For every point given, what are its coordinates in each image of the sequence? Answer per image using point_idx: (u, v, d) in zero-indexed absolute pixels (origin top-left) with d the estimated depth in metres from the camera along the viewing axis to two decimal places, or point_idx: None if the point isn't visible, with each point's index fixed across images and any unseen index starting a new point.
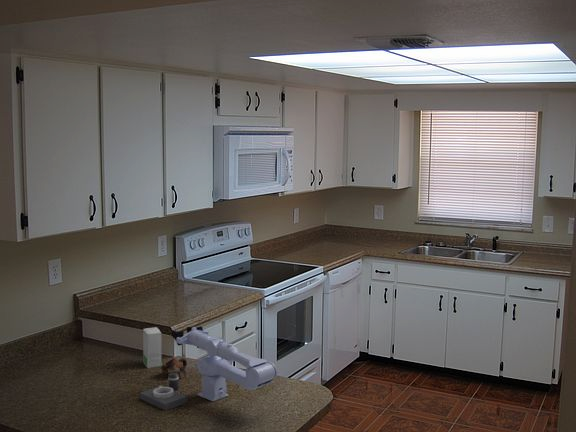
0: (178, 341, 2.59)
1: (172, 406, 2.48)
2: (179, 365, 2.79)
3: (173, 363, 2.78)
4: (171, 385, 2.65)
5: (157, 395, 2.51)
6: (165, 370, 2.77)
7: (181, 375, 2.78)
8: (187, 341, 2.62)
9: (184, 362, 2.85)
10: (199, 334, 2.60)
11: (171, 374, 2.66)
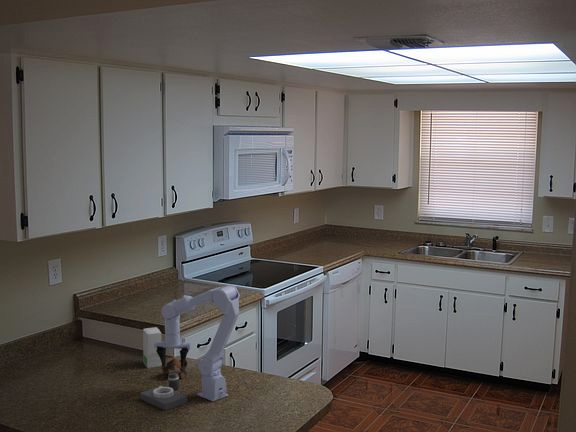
0: None
1: (172, 406, 2.48)
2: (180, 365, 2.78)
3: (174, 363, 2.78)
4: (171, 385, 2.65)
5: (157, 395, 2.51)
6: (166, 370, 2.77)
7: (182, 375, 2.77)
8: (164, 344, 2.64)
9: (185, 362, 2.85)
10: None
11: (171, 374, 2.66)
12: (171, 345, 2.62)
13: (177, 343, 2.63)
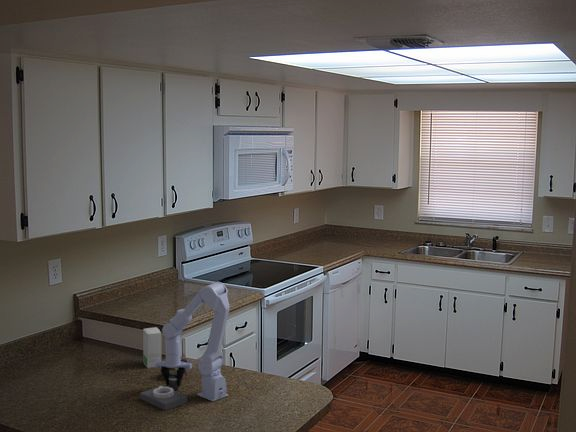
0: None
1: (172, 406, 2.48)
2: None
3: None
4: (171, 385, 2.65)
5: (157, 395, 2.51)
6: None
7: None
8: None
9: None
10: None
11: (171, 374, 2.66)
12: (171, 365, 2.62)
13: (177, 363, 2.64)
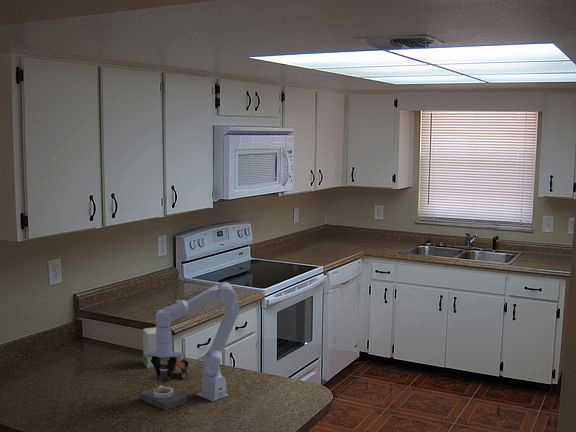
0: None
1: (172, 406, 2.48)
2: (181, 366, 2.77)
3: (175, 364, 2.77)
4: (162, 376, 2.54)
5: (157, 395, 2.51)
6: None
7: (183, 376, 2.77)
8: (155, 354, 2.54)
9: (186, 363, 2.84)
10: None
11: (162, 365, 2.55)
12: (162, 354, 2.52)
13: (168, 352, 2.53)
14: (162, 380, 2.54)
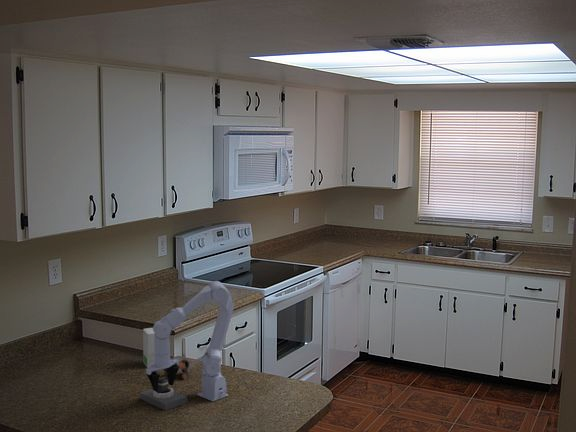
0: (147, 370, 2.47)
1: (172, 406, 2.48)
2: (182, 366, 2.77)
3: None
4: (165, 390, 2.53)
5: (157, 395, 2.51)
6: None
7: (184, 376, 2.76)
8: (158, 367, 2.50)
9: (186, 363, 2.83)
10: None
11: (161, 379, 2.53)
12: (168, 365, 2.51)
13: None
14: None
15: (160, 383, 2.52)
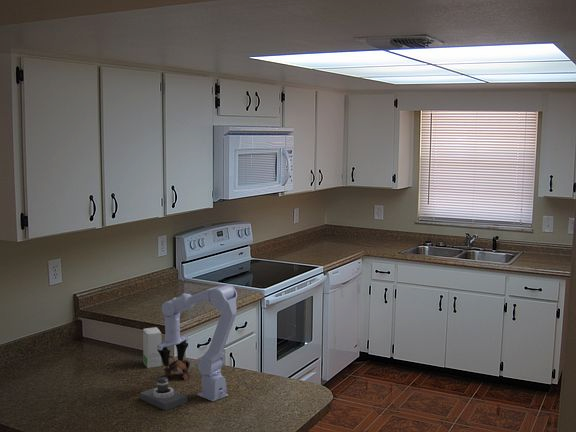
0: (159, 346, 2.60)
1: (172, 406, 2.48)
2: (182, 367, 2.77)
3: (176, 365, 2.76)
4: (165, 390, 2.53)
5: (157, 395, 2.51)
6: (168, 372, 2.75)
7: (185, 377, 2.76)
8: (168, 343, 2.63)
9: (187, 364, 2.83)
10: None
11: (161, 379, 2.53)
12: (178, 341, 2.65)
13: None
14: None
15: (160, 383, 2.52)
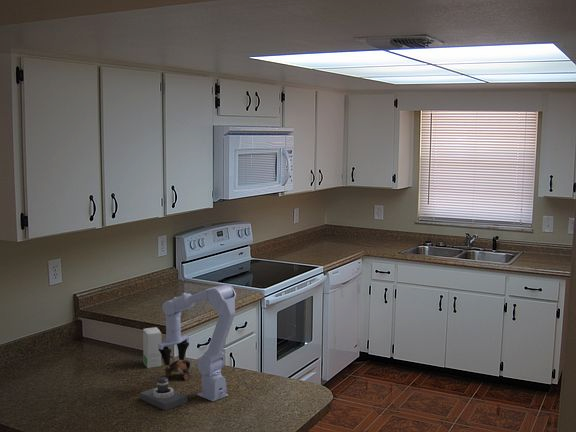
0: (160, 346, 2.62)
1: (172, 406, 2.48)
2: (183, 367, 2.76)
3: (177, 365, 2.76)
4: (165, 390, 2.53)
5: (157, 395, 2.51)
6: (169, 372, 2.75)
7: (185, 377, 2.76)
8: None
9: (187, 364, 2.83)
10: None
11: (161, 379, 2.53)
12: (179, 340, 2.66)
13: None
14: None
15: (160, 383, 2.52)
